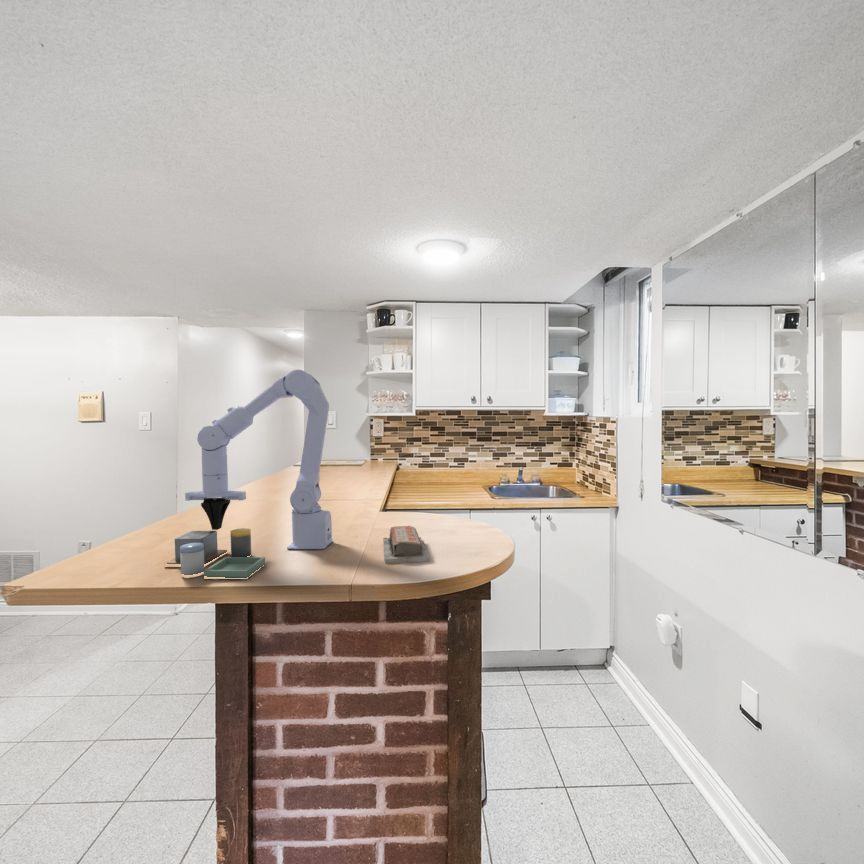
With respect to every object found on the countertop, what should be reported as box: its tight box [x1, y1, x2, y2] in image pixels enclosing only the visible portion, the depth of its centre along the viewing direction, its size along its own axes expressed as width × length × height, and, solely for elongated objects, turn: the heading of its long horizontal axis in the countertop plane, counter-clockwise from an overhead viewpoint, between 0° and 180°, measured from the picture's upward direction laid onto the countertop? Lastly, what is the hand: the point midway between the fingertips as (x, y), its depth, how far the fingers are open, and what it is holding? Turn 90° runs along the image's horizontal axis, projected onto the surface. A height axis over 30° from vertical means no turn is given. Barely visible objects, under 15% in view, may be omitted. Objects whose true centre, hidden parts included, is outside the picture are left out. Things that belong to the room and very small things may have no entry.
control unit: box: [165, 530, 228, 564], centre depth 107 cm, size 9×10×6 cm
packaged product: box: [382, 525, 430, 565], centre depth 112 cm, size 18×5×10 cm
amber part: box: [230, 527, 252, 557], centre depth 109 cm, size 4×4×6 cm
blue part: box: [180, 543, 206, 575], centre depth 97 cm, size 4×4×6 cm
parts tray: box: [203, 556, 266, 578], centre depth 98 cm, size 9×9×2 cm
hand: (216, 528), depth 115 cm, fingers closed
